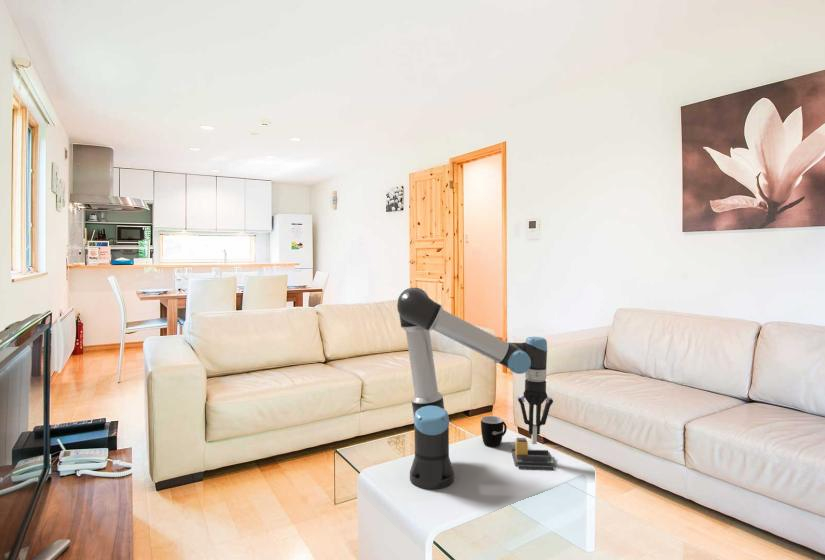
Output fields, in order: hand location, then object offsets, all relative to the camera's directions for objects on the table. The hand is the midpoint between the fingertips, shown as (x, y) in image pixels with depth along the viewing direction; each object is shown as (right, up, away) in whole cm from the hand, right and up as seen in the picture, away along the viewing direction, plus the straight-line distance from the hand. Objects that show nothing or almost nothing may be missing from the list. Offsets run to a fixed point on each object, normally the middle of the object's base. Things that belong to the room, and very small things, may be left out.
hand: (533, 442), depth 174 cm
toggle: (-4, -5, +1) cm, 7 cm away
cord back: (-1, -7, +8) cm, 10 cm away
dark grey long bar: (-1, -7, -6) cm, 10 cm away
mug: (-11, -7, +17) cm, 22 cm away
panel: (0, -7, 0) cm, 7 cm away
